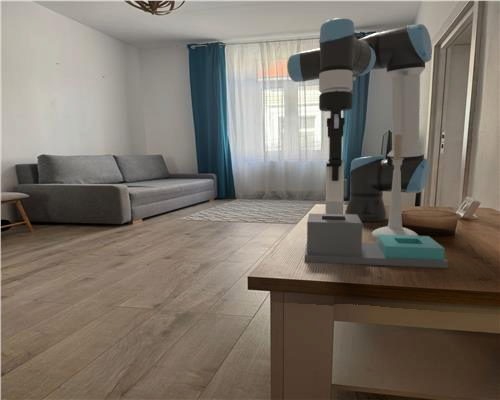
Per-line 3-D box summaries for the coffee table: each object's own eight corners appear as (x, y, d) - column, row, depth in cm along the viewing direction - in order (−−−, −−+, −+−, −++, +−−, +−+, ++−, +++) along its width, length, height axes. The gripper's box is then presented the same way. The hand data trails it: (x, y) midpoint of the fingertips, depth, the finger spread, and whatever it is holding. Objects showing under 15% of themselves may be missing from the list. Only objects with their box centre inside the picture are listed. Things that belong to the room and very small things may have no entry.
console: (304, 261, 83) (304, 222, 81) (307, 246, 96) (307, 212, 95) (447, 268, 77) (450, 226, 76) (428, 251, 90) (430, 215, 89)
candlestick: (391, 242, 99) (395, 131, 95) (362, 233, 111) (365, 134, 107) (428, 239, 103) (434, 131, 100) (396, 230, 115) (400, 134, 112)
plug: (325, 214, 85) (326, 162, 84) (325, 211, 89) (326, 162, 88) (346, 214, 85) (347, 162, 83) (345, 211, 88) (346, 162, 87)
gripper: (356, 85, 74) (353, 198, 77) (350, 97, 91) (348, 190, 94) (318, 87, 76) (317, 198, 79) (319, 98, 92) (318, 190, 95)
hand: (334, 193), depth 86 cm, fingers closed on plug, 4 cm apart
